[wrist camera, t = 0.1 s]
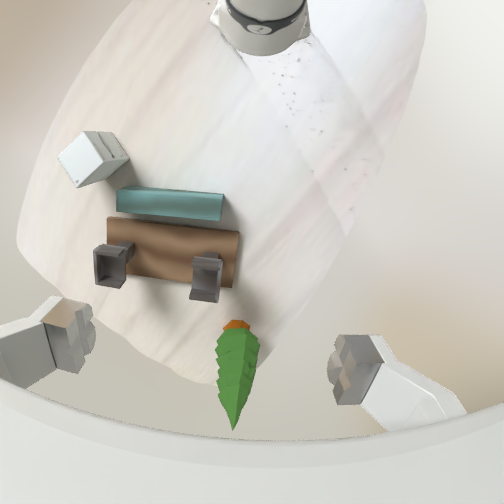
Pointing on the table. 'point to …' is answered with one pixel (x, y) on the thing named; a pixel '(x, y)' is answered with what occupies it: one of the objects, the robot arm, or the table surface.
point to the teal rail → (170, 202)
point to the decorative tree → (236, 367)
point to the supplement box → (92, 157)
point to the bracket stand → (167, 255)
